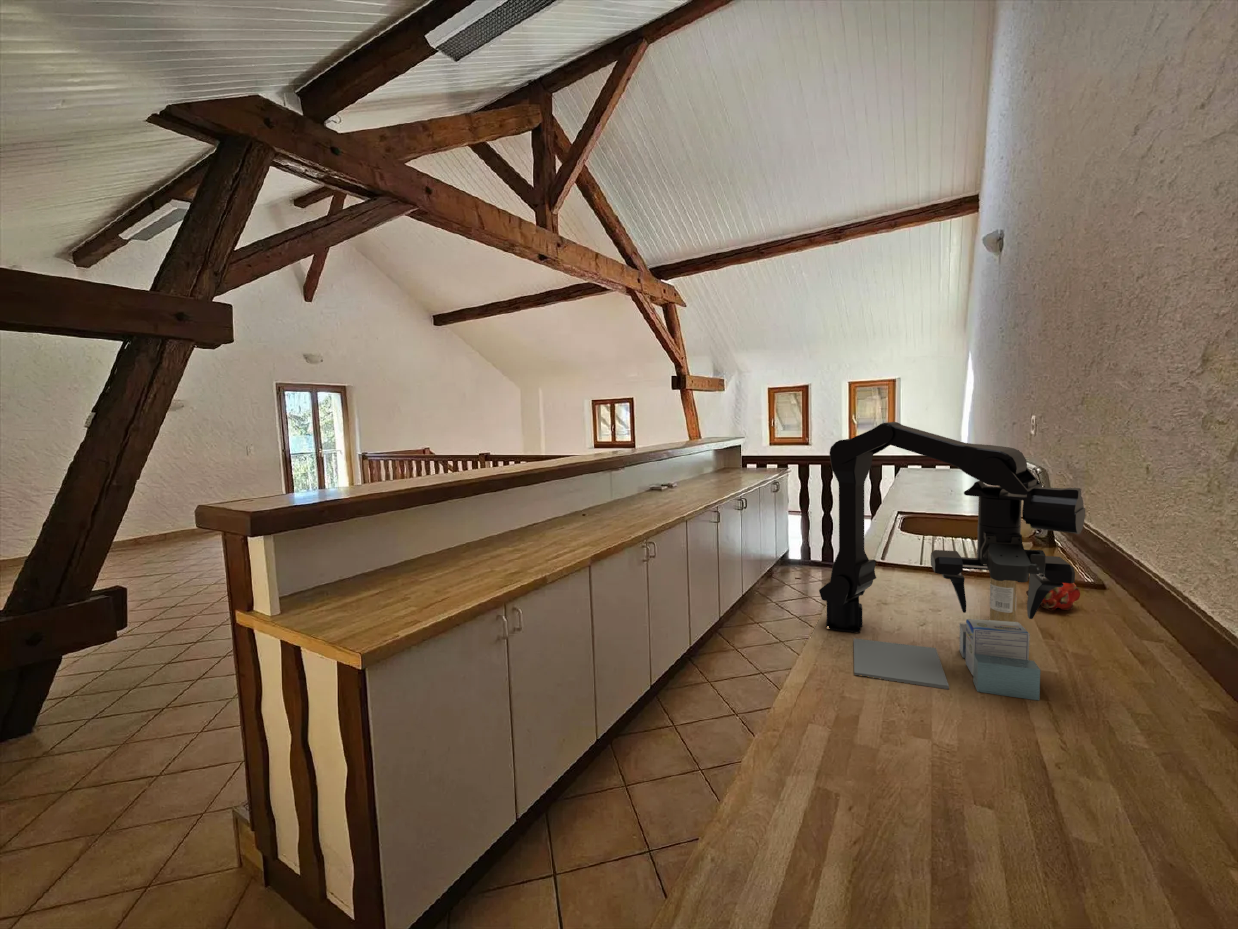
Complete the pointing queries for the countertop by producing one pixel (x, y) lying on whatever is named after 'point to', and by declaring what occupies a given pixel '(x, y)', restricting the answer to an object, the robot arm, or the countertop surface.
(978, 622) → the medicine box
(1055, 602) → the dragon fruit
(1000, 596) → the sprinkles bottle
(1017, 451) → the robot arm
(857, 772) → the countertop surface
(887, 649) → the rubber mat
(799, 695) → the countertop surface
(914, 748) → the countertop surface
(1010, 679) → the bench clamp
